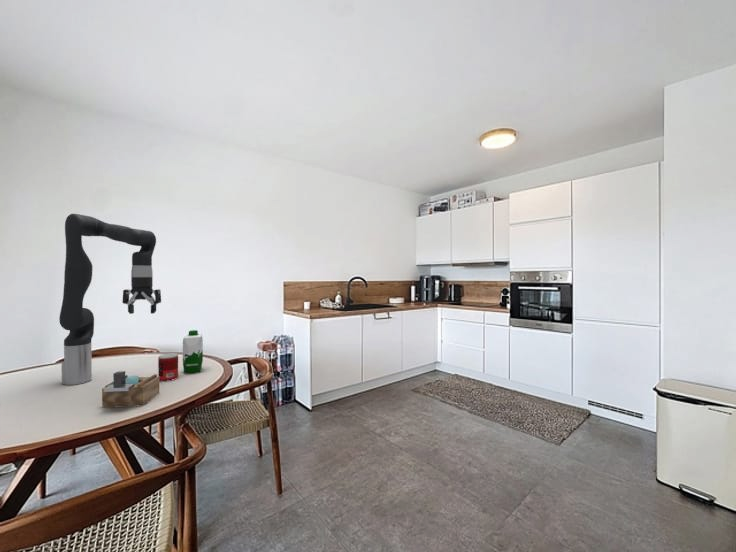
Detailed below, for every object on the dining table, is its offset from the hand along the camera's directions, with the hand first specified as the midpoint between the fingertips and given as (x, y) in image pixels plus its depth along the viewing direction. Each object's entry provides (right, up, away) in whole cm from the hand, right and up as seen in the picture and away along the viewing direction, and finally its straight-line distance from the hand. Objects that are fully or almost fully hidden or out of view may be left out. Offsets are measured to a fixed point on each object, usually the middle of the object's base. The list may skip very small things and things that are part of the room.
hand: (142, 313), depth 139 cm
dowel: (+6, -32, -14) cm, 36 cm away
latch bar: (+7, -25, -22) cm, 34 cm away
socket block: (+6, -32, -14) cm, 36 cm away
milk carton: (+10, -32, +22) cm, 40 cm away
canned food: (+4, -32, +11) cm, 34 cm away
